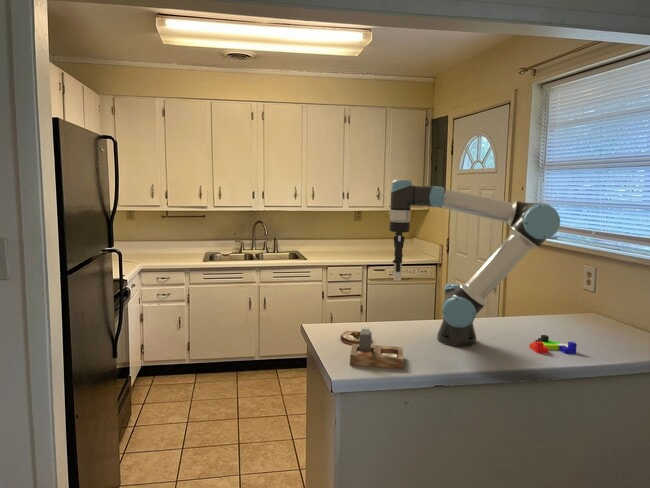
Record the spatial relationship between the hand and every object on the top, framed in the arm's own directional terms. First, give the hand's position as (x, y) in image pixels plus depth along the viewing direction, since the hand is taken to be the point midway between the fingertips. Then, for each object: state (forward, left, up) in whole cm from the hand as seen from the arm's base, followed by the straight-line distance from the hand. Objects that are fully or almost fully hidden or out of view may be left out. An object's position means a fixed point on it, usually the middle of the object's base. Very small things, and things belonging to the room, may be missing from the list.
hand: (397, 276), depth 186 cm
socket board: (+6, +19, -27) cm, 33 cm away
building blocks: (-60, -10, -27) cm, 67 cm away
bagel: (+15, -2, -27) cm, 31 cm away
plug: (+10, +19, -25) cm, 33 cm away
